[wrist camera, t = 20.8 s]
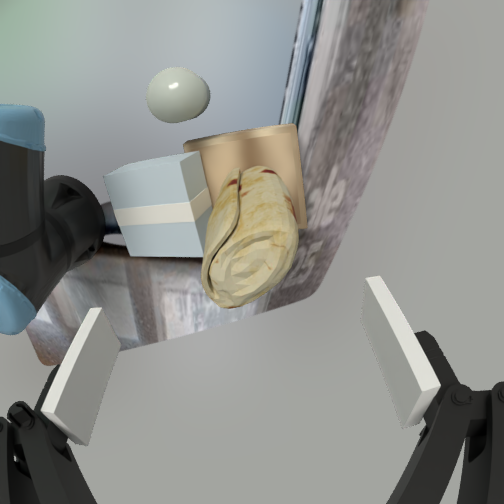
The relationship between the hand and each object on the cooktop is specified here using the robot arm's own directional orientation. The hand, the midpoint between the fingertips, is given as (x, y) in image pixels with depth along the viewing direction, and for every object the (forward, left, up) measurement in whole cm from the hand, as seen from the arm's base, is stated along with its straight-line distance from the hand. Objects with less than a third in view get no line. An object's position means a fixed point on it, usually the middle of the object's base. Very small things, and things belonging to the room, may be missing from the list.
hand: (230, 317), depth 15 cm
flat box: (-10, -2, -28) cm, 30 cm away
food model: (+1, -2, -27) cm, 27 cm away
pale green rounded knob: (-5, +11, -30) cm, 32 cm away
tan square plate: (+1, -2, -30) cm, 30 cm away
